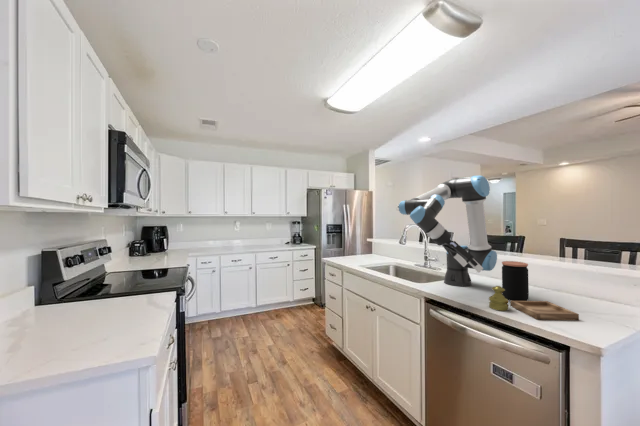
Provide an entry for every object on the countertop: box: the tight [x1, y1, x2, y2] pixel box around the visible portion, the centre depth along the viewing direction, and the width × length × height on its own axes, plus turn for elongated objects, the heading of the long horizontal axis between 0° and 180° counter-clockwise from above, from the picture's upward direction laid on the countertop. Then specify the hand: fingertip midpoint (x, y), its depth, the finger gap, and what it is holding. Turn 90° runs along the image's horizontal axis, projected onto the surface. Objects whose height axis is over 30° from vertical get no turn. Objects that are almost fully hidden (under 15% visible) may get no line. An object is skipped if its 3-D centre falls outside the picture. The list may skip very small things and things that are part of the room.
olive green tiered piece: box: [488, 285, 510, 312], centre depth 120 cm, size 7×7×10 cm
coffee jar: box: [501, 260, 530, 302], centre depth 133 cm, size 11×11×18 cm
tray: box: [510, 300, 580, 321], centre depth 114 cm, size 16×16×2 cm
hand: (472, 267), depth 120 cm, fingers open, 13 cm apart
